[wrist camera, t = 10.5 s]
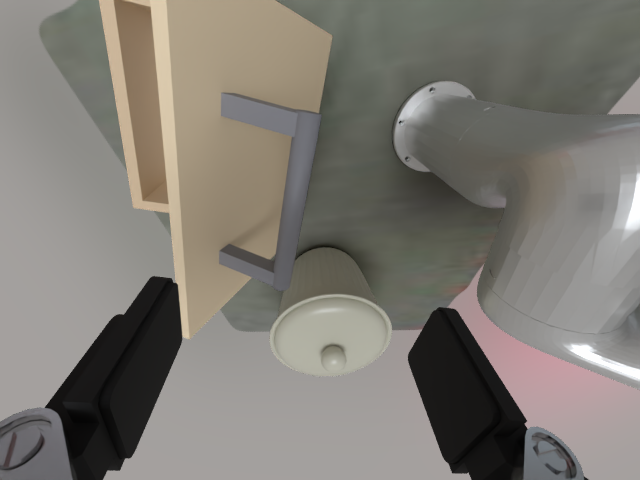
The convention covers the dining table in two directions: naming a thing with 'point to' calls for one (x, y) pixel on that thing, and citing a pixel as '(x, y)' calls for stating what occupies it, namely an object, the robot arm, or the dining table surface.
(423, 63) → the dining table surface
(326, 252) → the canister
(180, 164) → the carton lid
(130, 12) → the carton
